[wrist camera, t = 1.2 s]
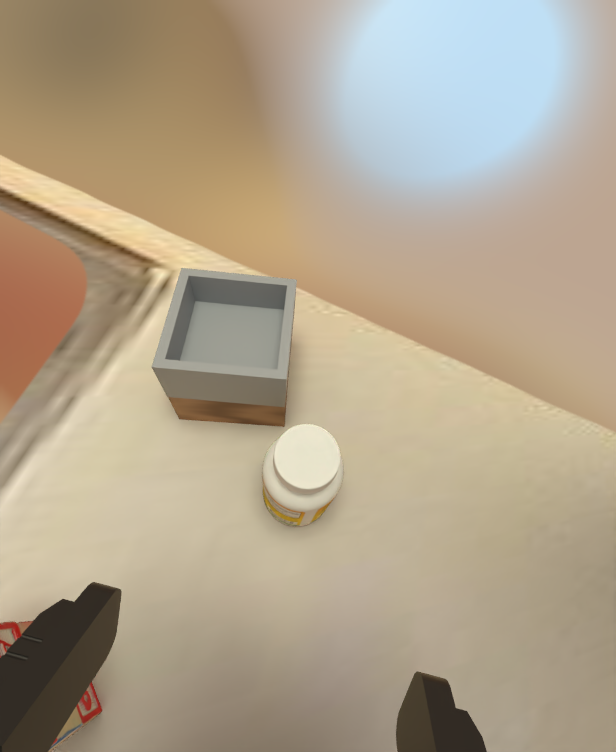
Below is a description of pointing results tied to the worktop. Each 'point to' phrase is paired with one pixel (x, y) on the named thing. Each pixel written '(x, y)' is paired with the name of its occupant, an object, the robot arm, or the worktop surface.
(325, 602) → the worktop surface
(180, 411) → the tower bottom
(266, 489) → the supplement bottle
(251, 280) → the tower top
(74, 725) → the stack of blocks
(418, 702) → the robot arm
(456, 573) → the worktop surface
